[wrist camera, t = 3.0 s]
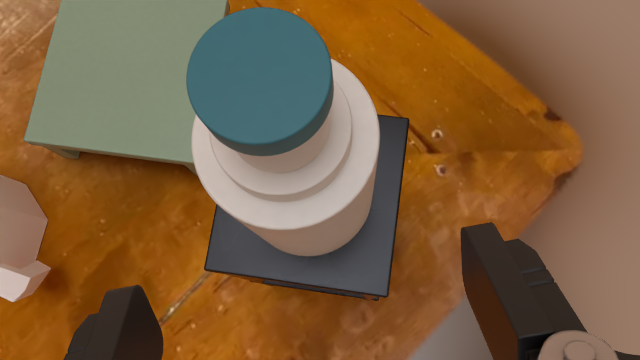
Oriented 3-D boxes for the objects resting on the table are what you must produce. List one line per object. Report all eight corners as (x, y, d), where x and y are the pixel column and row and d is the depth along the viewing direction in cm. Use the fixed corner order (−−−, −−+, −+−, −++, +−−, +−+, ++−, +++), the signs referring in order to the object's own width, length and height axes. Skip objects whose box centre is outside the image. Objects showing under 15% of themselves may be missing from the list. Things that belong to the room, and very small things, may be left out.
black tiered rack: (389, 190, 41) (409, 117, 25) (375, 301, 39) (387, 297, 24) (281, 175, 42) (236, 97, 26) (263, 284, 40) (203, 270, 24)
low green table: (241, 32, 44) (227, -2, 40) (213, 180, 42) (194, 163, 37) (96, 17, 46) (65, -18, 41) (60, 159, 43) (22, 140, 38)
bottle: (379, 140, 25) (402, -30, 13) (363, 265, 24) (370, 218, 11) (257, 124, 26) (160, -53, 13) (235, 246, 25) (105, 181, 12)
